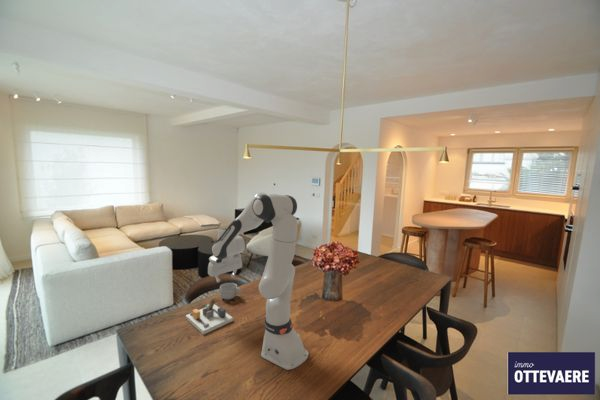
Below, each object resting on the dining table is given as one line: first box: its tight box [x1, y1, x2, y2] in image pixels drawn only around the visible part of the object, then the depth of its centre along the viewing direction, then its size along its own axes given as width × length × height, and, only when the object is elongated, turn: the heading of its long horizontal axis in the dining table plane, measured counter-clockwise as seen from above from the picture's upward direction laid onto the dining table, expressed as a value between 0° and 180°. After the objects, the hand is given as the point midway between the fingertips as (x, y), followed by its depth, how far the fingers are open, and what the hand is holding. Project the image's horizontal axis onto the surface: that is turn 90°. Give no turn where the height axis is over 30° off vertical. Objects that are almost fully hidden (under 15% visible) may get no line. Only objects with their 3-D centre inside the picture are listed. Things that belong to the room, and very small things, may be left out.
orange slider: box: [191, 308, 200, 319], centre depth 143 cm, size 4×2×4 cm, turn 47°
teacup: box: [219, 282, 242, 301], centre depth 169 cm, size 14×11×8 cm
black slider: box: [218, 306, 227, 318], centre depth 145 cm, size 4×2×4 cm, turn 47°
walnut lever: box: [205, 296, 217, 314], centre depth 146 cm, size 3×2×10 cm
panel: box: [185, 303, 234, 336], centre depth 144 cm, size 20×17×6 cm
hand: (225, 279), depth 151 cm, fingers open, 8 cm apart
